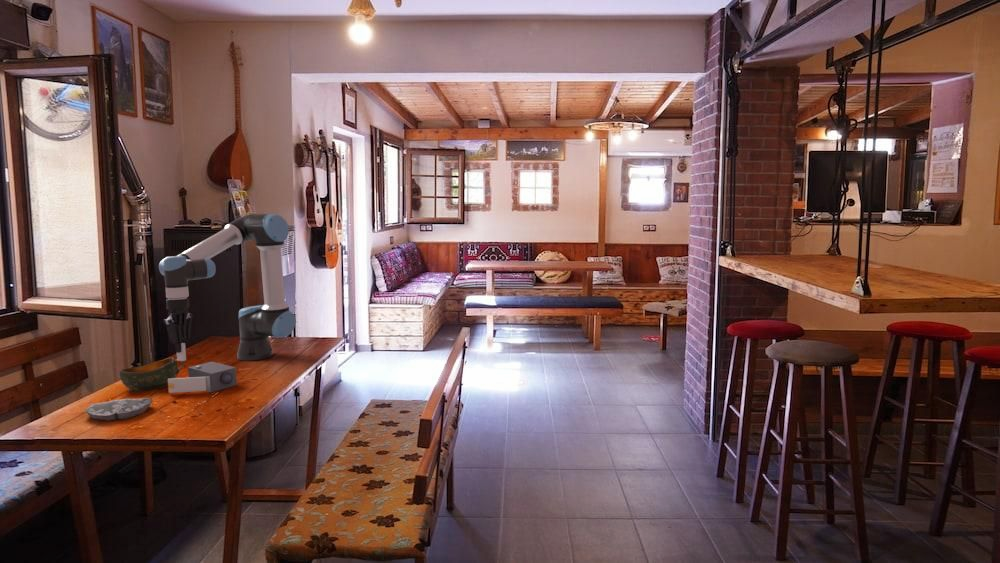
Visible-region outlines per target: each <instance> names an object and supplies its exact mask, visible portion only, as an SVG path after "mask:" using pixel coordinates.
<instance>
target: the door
mask: <svg viewBox="0 0 1000 563" xmlns="http://www.w3.org/2000/svg"><path fill="white" fill-rule="evenodd" d="M206 380H207V383H206ZM167 390H168V393H169V394H172V393H173V394H174V393H175V394H176V393H187V392H188V393H191V392H207V393H211V386H210V376H207V377H190V378H189V377H176V378H172V379H168V387H167Z"/></svg>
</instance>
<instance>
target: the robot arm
mask: <svg viewBox="0 0 1000 563" xmlns="http://www.w3.org/2000/svg"><path fill="white" fill-rule="evenodd" d="M289 233H290V227H289V224H288V222H287V220H286V219H285V218H284V217H283V216H281V215H279V214H275V213H274V214H273V213H250V214H245V215H243V216H240V217H238V218H237V219H235V220H233V221H231V222H229V223H227V224H226V225H225V226H224V228H223V229H222V230H220V231H218V232H216V233H215V234H212V235H211V236H210V237H208V238H206V239H203V240H202V241H201V242H199V243H197V244H195V245H193V246H191V247H190V248H188V249H187V250H184V251H183V252H181V253H179V254H177V255H174V256H173V255H172V256H170V255H169V256H165V258H163V259H162V260H160V262H159V264H158V270H159V272H160V274H161V275H162V276H164V287H165V288H164V289H165V298H166V300H165V303H166V305H165V306H166V310H168V313H167V314H168V317H166V319H165V318H164V319H163V323H164V325H165V326H166V331H167V334H168V337H169V338H168V339H169V342H170V344H173V345H174V347H175V353H176V359H177V362H179V361H180V362H182V361H184V362H185V361H187V355H186V354H187V353H186V351H187V343H189V340H190V338H191V331H192V330H191V329H192V320H193V317H194V314H193V313H190V312H189V310H188V309H189V308H190V299H189V298H188V297H189V296H190V294H189V293H190V292H189V281H194V280H203V279H205V280H206V279H208V278H209V279H210V278H212V277H214V276H215V274H216V271H217V270H216V267H217V266H216V264H215V262H214V261H213V260H212V258H214V257H215V256H217V255H218V254H221V253H222V252H224V251H226V250H227V249H229V248H231V247H232V246H234V245H236V246H237V245H241V244H243V243H245V242H251V241H253V242H255V243H254V244H255V247H256V248H257V249H259V252H260V268H261V280H262V290H263V302H264V303H263V304H262V305H261V304H259V305H253V306H247V307H243V308H241V309H239V311H238V327H239V328H238V330H239V345H238V349H237V353H236V357H237V360H238V361H239V360H240V361H245V362H246V361H260V360H265V359H268V358H271V357H272V356H273V355H274V351H273V348H272V345H271V343H270V340H269V338H268V337H273V338H276V339H278V338H286V337H288V336H289V335H291V334H292V333H293V331H294V329H295V327H296V324H297V321H296V320H297V319H296V315H295V314H294V313H293V312H292V311H290V306H289V304H288V303H287V302H286V300H285V296H286V295H285V286H284V274H283V273H284V272H283V262H282V261H283V260H282V248H283V247H284V245H285V241H286V240H287V239H288V236H289Z"/></svg>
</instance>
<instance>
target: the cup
mask: <svg viewBox="0 0 1000 563" xmlns="http://www.w3.org/2000/svg"><path fill="white" fill-rule="evenodd" d="M181 362H182V363H181V366H180V367H179V365H178V361H177V358H176V359H175V358H174V357H167V358H164V359H161V360H158V361H155V362H152V363H149V364H146V365H140V366H134V367H128V368H122V369H120V370H119V377H120V382H121V383H122V384H123V385H124V387H126V388H127V389H128V390H129V391H130V392H145V391H146V392H147V391H153V390H155V391H156V390H160V389H163V388H168V379H172V378H178V377H177V376H178V374H179V373H180V371H181V370H182V369H183V368H184V366H185V361H181Z"/></svg>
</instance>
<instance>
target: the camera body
mask: <svg viewBox="0 0 1000 563" xmlns="http://www.w3.org/2000/svg"><path fill="white" fill-rule="evenodd" d="M187 370H188V371H187V372H188V373H187V374H188V378H190V377H207V376H210V386H211V392H212V393H215V392H217V391H221V390H224V389H228V388H231V387H235V386H238V381H237V380H238V379H237V368H236V367H235V366H231V365H227V364H224V363H218V362H215V361H209V362H204V363H201V364H197V365H192V366H188V367H187ZM206 383H207V380H206ZM211 392H210V393H211Z"/></svg>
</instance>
